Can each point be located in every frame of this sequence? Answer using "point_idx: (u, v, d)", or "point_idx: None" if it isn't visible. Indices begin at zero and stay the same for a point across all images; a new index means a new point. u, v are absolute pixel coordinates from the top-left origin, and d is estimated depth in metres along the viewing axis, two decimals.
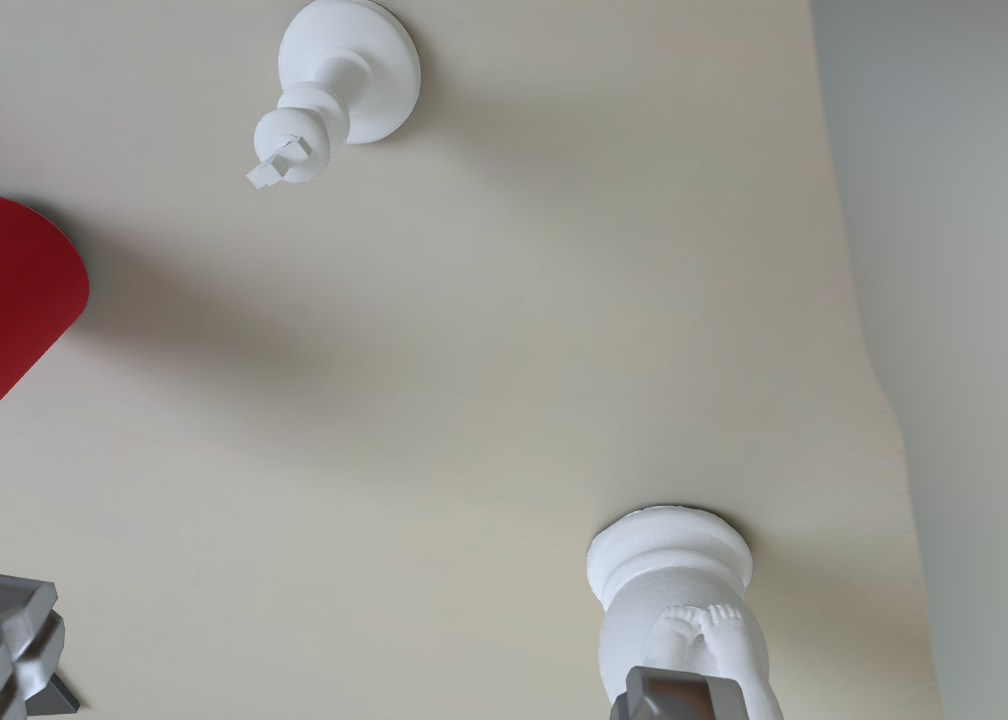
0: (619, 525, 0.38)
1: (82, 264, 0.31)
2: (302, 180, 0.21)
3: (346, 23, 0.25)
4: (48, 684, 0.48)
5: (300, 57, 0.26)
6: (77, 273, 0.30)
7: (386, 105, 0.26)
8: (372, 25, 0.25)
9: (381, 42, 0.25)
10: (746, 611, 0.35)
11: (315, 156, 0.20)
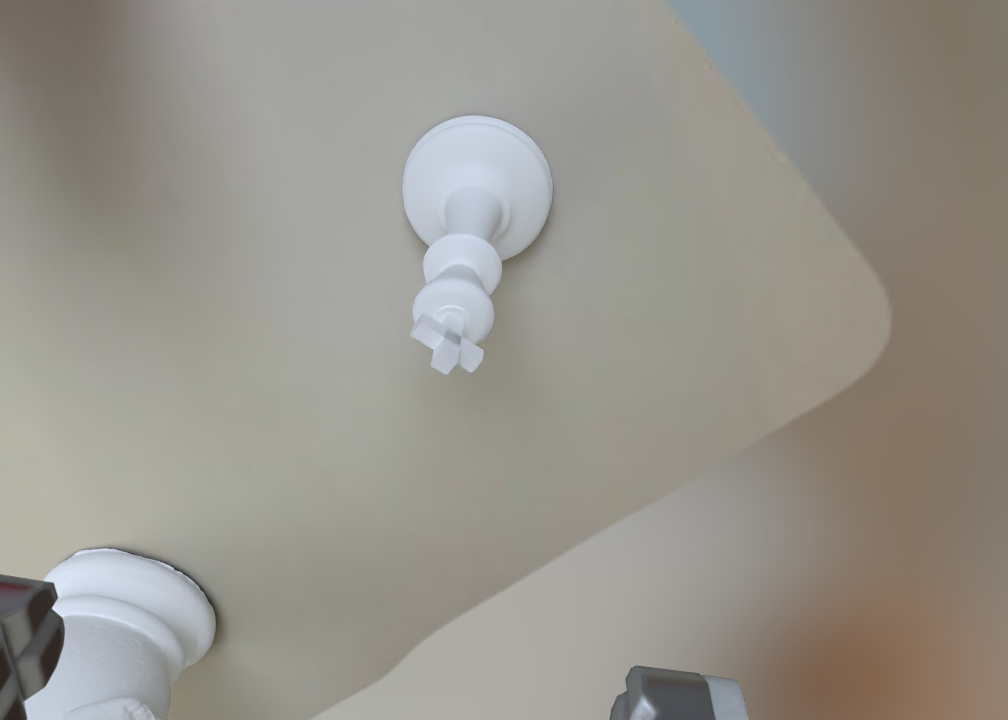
0: (146, 566, 0.36)
1: None
2: None
3: (530, 190, 0.24)
4: None
5: (478, 154, 0.23)
6: None
7: None
8: (537, 213, 0.24)
9: (525, 226, 0.25)
10: None
11: None
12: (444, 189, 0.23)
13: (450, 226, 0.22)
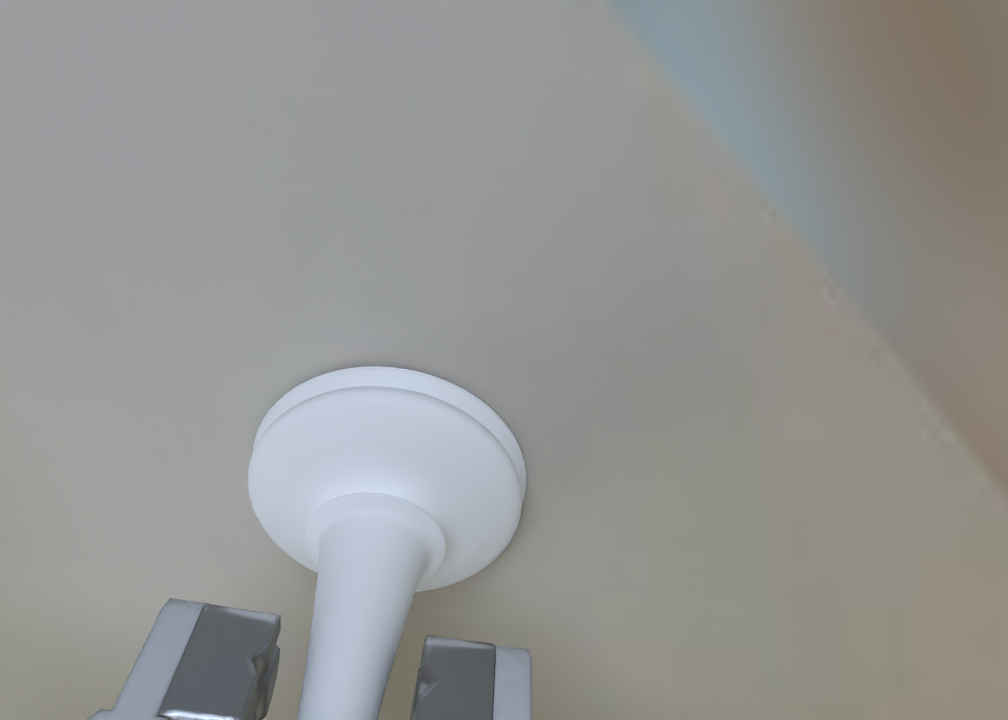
0: None
1: None
2: None
3: (483, 501, 0.13)
4: None
5: (380, 448, 0.12)
6: None
7: None
8: (496, 530, 0.13)
9: (476, 551, 0.13)
10: None
11: None
12: (316, 514, 0.12)
13: (313, 633, 0.11)
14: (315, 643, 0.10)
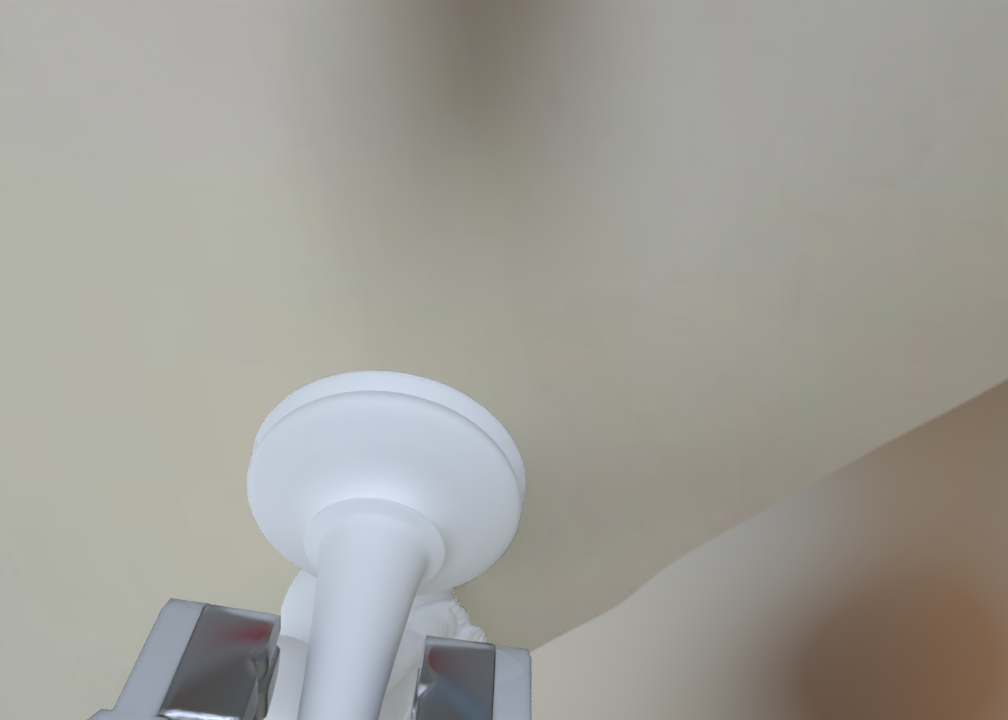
0: None
1: None
2: None
3: (481, 505, 0.13)
4: None
5: (379, 453, 0.12)
6: None
7: None
8: (496, 535, 0.13)
9: (476, 555, 0.13)
10: None
11: None
12: (315, 519, 0.12)
13: (312, 638, 0.11)
14: (314, 649, 0.10)
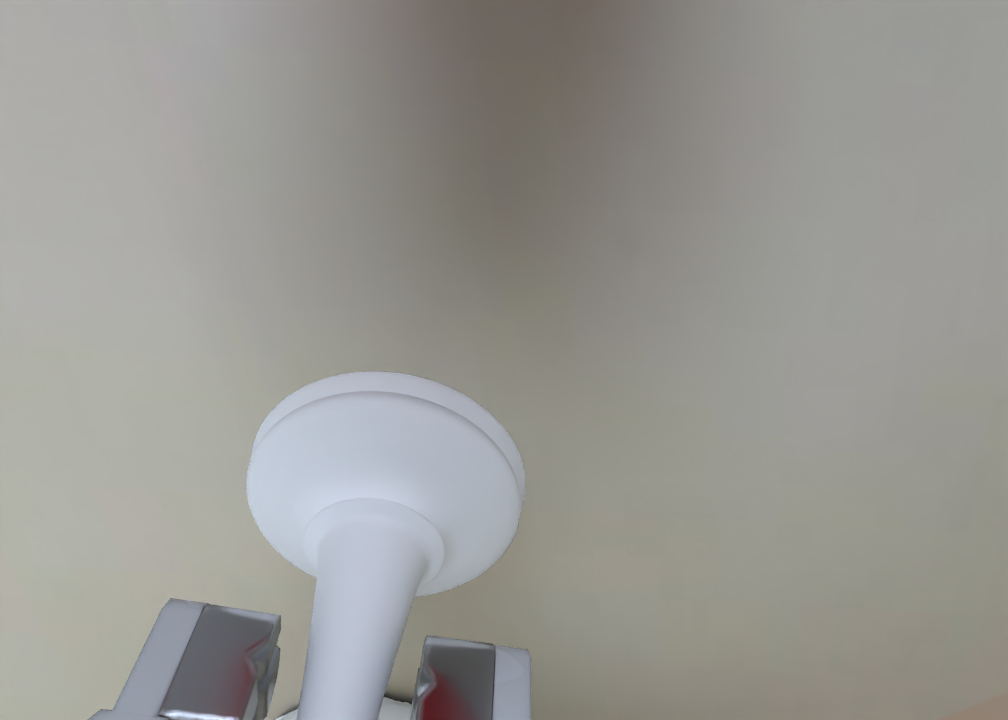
0: None
1: None
2: None
3: (481, 506, 0.13)
4: None
5: (379, 454, 0.12)
6: None
7: None
8: (495, 535, 0.13)
9: (475, 556, 0.13)
10: None
11: None
12: (314, 519, 0.12)
13: (312, 639, 0.11)
14: (313, 649, 0.10)
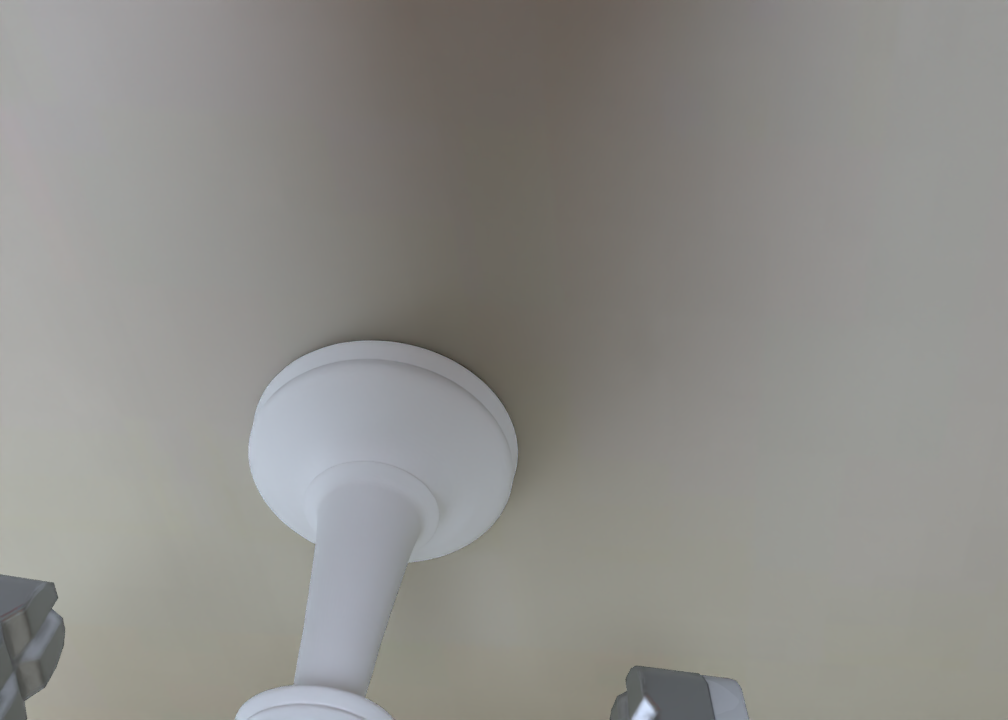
0: None
1: None
2: None
3: (475, 471, 0.13)
4: None
5: (376, 419, 0.13)
6: None
7: None
8: (489, 501, 0.14)
9: (469, 521, 0.14)
10: None
11: None
12: (314, 482, 0.13)
13: (311, 591, 0.11)
14: (313, 601, 0.11)
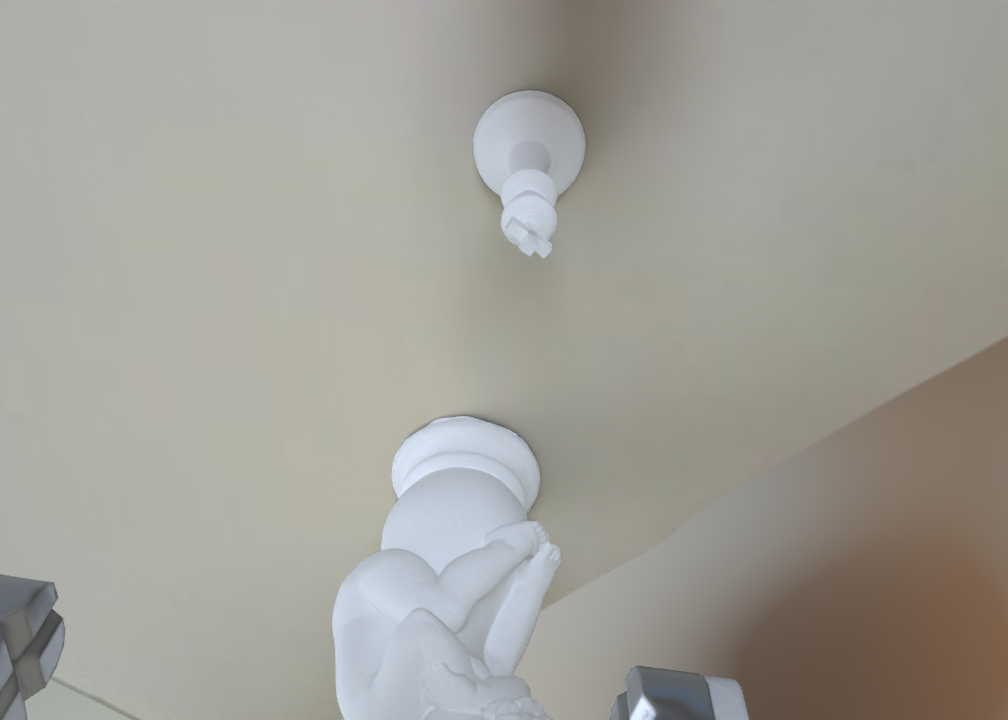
0: (500, 430, 0.42)
1: None
2: (507, 236, 0.27)
3: (570, 146, 0.32)
4: None
5: (533, 118, 0.32)
6: None
7: None
8: (574, 164, 0.33)
9: (565, 174, 0.33)
10: None
11: None
12: (508, 143, 0.32)
13: (516, 168, 0.30)
14: (518, 169, 0.30)
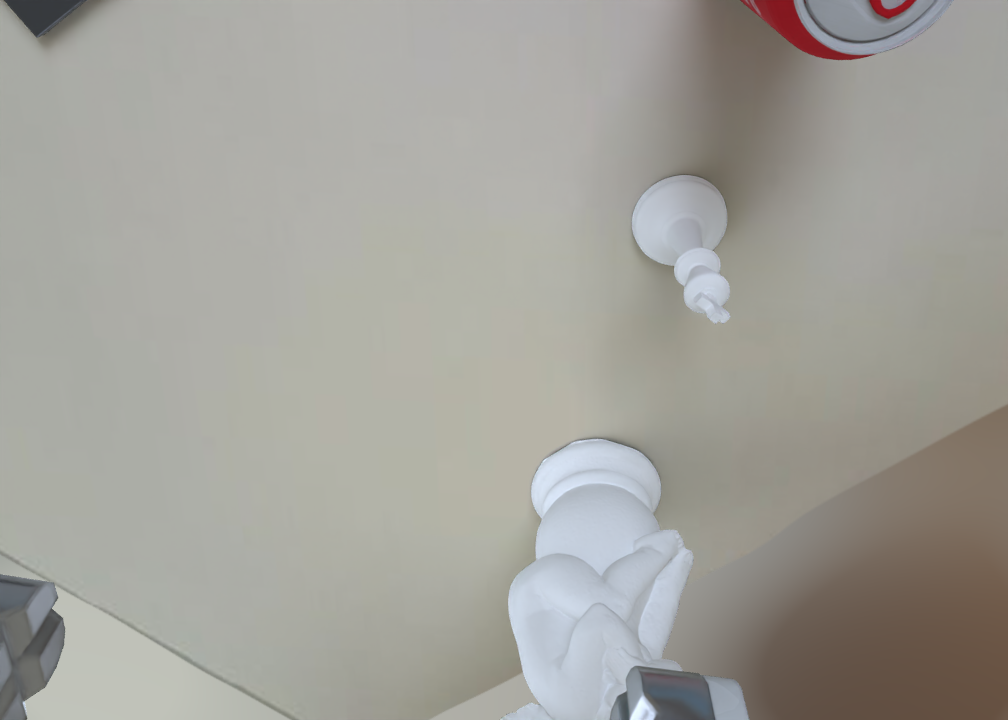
0: (631, 451, 0.48)
1: None
2: (688, 304, 0.34)
3: (716, 220, 0.39)
4: None
5: (688, 199, 0.38)
6: None
7: (671, 255, 0.40)
8: (718, 234, 0.40)
9: (710, 242, 0.40)
10: None
11: None
12: (668, 220, 0.38)
13: (680, 243, 0.37)
14: (683, 243, 0.37)
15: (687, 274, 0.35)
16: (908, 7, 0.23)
